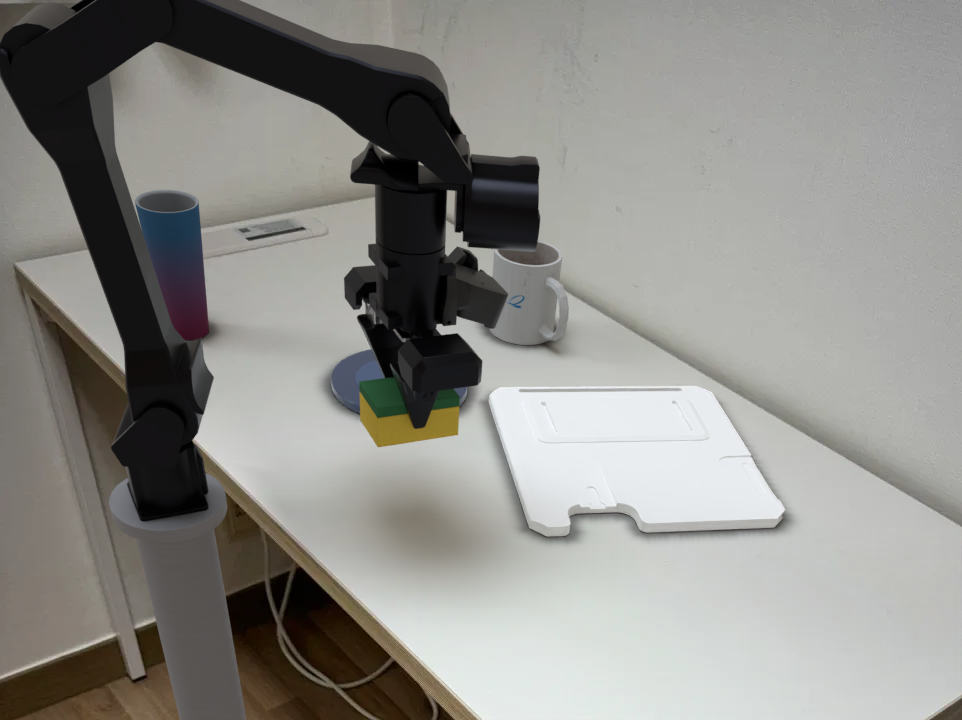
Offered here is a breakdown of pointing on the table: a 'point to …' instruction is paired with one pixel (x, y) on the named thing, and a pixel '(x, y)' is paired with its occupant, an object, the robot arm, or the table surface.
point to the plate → (361, 378)
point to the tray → (630, 458)
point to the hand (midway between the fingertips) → (409, 413)
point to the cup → (177, 256)
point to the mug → (530, 295)
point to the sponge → (404, 414)
